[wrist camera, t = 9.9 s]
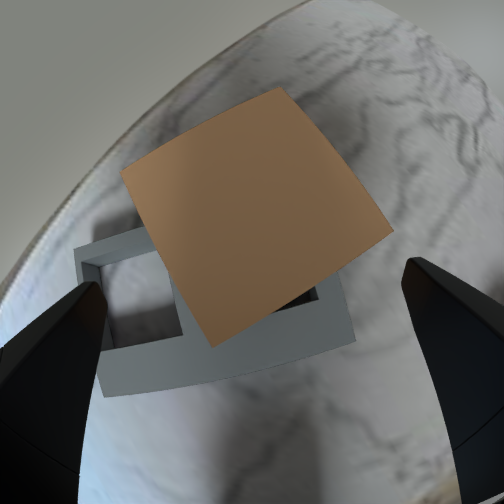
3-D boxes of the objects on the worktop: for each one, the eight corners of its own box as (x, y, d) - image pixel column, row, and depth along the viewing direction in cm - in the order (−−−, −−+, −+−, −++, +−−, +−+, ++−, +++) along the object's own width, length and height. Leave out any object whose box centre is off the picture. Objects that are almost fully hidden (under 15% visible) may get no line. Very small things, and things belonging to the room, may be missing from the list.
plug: (309, 282, 19) (394, 231, 7) (243, 323, 19) (212, 348, 6) (268, 219, 20) (280, 86, 8) (204, 258, 20) (119, 171, 7)
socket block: (344, 337, 19) (356, 341, 16) (119, 389, 18) (104, 397, 16) (302, 196, 21) (307, 182, 18) (91, 255, 20) (73, 249, 18)
